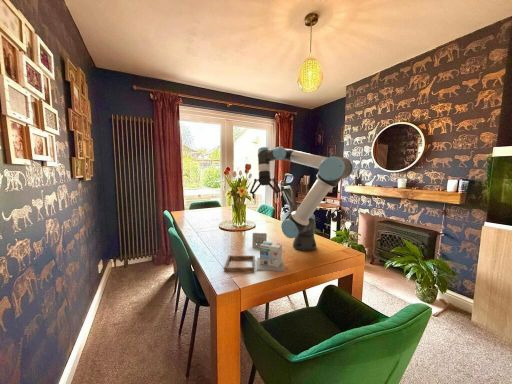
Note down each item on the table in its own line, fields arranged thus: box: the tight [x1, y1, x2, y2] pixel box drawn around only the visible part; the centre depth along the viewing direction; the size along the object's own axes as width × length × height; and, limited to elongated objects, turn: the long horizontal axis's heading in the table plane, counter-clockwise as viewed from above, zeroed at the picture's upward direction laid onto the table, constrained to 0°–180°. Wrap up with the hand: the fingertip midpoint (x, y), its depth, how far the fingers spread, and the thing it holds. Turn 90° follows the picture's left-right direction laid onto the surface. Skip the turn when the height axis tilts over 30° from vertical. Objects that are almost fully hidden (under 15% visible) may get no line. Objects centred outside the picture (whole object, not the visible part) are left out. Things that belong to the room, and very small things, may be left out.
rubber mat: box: [256, 257, 285, 272], centre depth 116 cm, size 14×14×1 cm
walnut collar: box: [223, 254, 256, 273], centre depth 115 cm, size 15×15×2 cm
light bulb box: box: [259, 241, 283, 267], centre depth 115 cm, size 11×7×11 cm, turn 68°
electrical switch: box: [252, 232, 268, 249], centre depth 141 cm, size 9×5×9 cm, turn 86°
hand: (265, 203), depth 139 cm, fingers open, 13 cm apart
